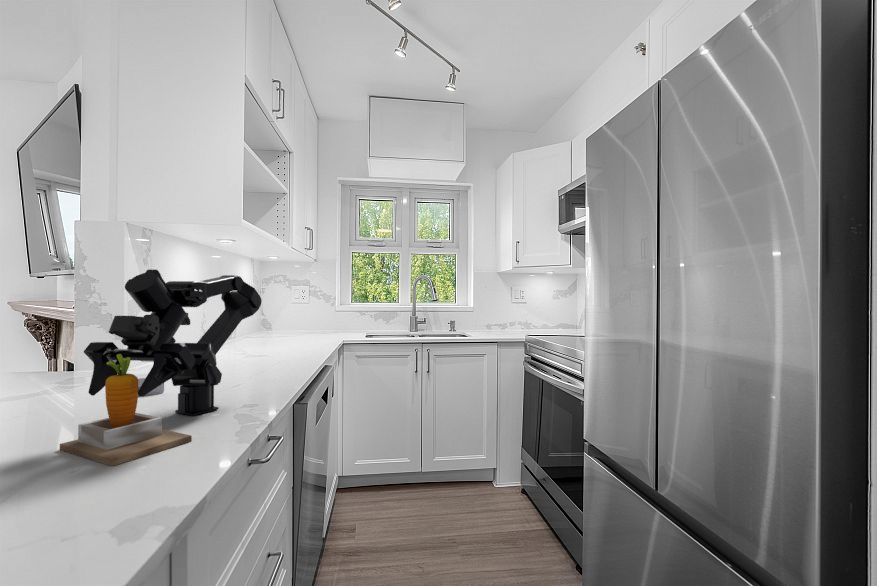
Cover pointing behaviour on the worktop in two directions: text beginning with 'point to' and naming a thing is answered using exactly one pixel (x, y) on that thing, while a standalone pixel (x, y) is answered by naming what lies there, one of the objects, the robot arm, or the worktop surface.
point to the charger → (141, 379)
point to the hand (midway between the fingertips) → (115, 394)
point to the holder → (123, 440)
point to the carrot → (121, 394)
